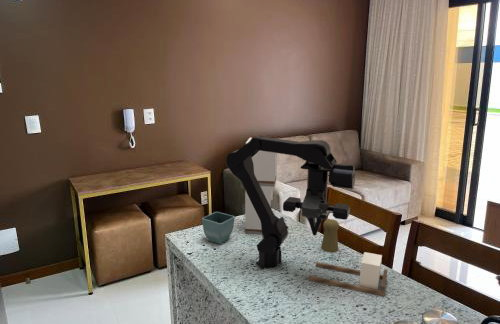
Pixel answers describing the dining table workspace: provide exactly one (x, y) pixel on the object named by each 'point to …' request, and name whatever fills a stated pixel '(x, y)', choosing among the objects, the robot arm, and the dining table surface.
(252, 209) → the tall white pillar
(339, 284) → the board
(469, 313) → the dining table surface
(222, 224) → the flower pot
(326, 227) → the olive bell shape
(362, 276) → the cream block
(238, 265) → the dining table surface
